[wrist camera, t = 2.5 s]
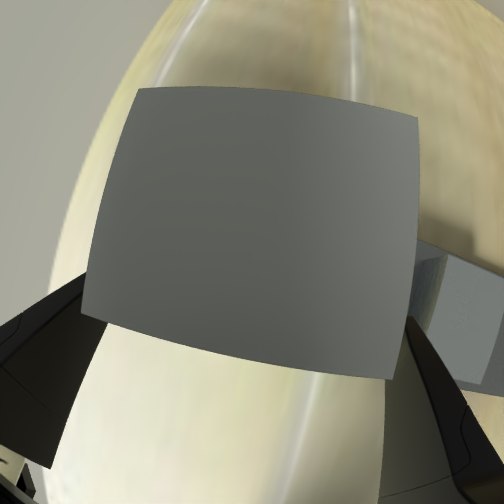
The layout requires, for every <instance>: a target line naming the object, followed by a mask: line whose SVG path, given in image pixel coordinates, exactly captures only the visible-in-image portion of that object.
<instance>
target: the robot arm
mask: <svg viewBox="0 0 504 504" xmlns="http://www.w3.org/2000/svg"><path fill="white" fill-rule="evenodd" d="M85 278H86V272H85V273H83V274H82V275H80V276H78V277H77V278H75V279H74V280H72V281H70V282H69V283H67V284H65V285H64V286H62V287H61V288H59V289H57V290H56V291H54V292H53V293H51V294H49V295H48V296H46V297H45V298H43V299H42V300H40V301H39V302H37V303H35V304H34V305H32V306H31V307H29V308H28V309H26V310H25V311H24V312H23V313H20V314H19V315H17V316H16V317H14V318H13V319H11V320H10V321H8V322H6V323H5V324H3V325H2V326H0V504H38V503H37V502H35V501H34V500H33V497H34V495H35V492H36V490H35V487H34V484H33V481H32V478H31V475H30V472H29V468H28V465H27V463H25V461H26V459H29V460H31V461H33V462H35V463H37V464H39V465H41V466H43V467H46V468H48V469H51V467H52V464H53V461H54V458H55V455H56V452H57V448H58V445H59V442H60V440H61V437H62V434H63V431H64V428H65V425H66V422H67V419H68V417H69V414H70V411H71V409H72V406H73V403H74V401H75V398H76V396H77V393H78V391H79V388H80V386H81V383H82V381H83V379H84V376H85V374H86V371H87V369H88V367H89V364H90V362H91V360H92V358H93V355H94V353H95V351H96V349H97V346H98V344H99V342H100V340H101V338H102V336H103V333H104V331H105V329H106V327H107V324H108V322H105V321H102V320H99V319H96V318H93V317H91V316H88V315H85V314H82V313H81V307H82V299H83V291H84V284H85ZM378 504H504V464H503V462H502V460H501V459H500V457H499V455H498V454H497V452H496V451H495V449H494V447H493V446H492V444H491V443H490V441H489V439H488V438H487V436H486V435H485V433H484V431H483V430H482V428H481V426H480V425H479V423H478V421H477V419H476V417H475V416H474V414H473V412H472V410H471V408H470V407H469V405H467V401H466V400H465V398H464V396H463V394H462V393H461V391H460V389H459V387H458V386H457V384H456V382H455V381H454V379H453V377H452V376H451V374H450V372H449V371H448V369H447V367H446V366H445V364H444V362H443V361H442V359H441V358H440V356H439V354H438V353H437V351H436V350H435V348H434V347H433V345H432V343H431V342H430V340H429V339H428V337H427V336H426V334H425V333H424V331H423V330H422V328H421V327H420V325H419V324H418V322H417V321H416V319H415V318H414V317H413V316H412V315H407V317H406V322H405V327H404V332H403V337H402V342H401V347H400V351H399V355H398V359H397V364H396V368H395V371H394V375H393V379H392V380H389V379H385V422H384V444H383V459H382V470H381V481H380V489H379V499H378Z"/></svg>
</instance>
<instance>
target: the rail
mask: <svg viewBox="0 0 504 504" xmlns="http://www.w3.org/2000/svg"><path fill="white" fill-rule="evenodd" d="M407 315H412V316H413V317H414V318H415V319H416V321H417V322H418V324H419V325H420V327H421V328H422V330H423V331H424V333H425V334H426V336H427V337H428V339H429V340H430V342H431V343H432V345H433V347H434V348H435V350H436V351H437V353H438V354H439V356H440V358H441V359H442V361H443V362H444V364H445V366H446V367H447V369H448V371H449V372H450V374H451V376H452V377H453V379H454V381H455V382H456V384H457V386H458V387H459V389H462V390H467V391H472V392H477V393H483V394H489V395H494V396H500V397H504V277H503V276H501V275H499V274H497V273H494V272H492V271H490V270H488V269H486V268H484V267H481V266H479V265H477V264H475V263H472V262H470V261H468V260H466V259H463V258H461V257H459V256H456V255H454V254H452V253H449V252H447V251H445V250H442V249H440V248H437V247H435V246H432V245H430V244H428V243H425V242H423V241H420V240H418V239H417V243H416V254H415V263H414V271H413V279H412V286H411V293H410V300H409V306H408V311H407Z"/></svg>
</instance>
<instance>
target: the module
mask: <svg viewBox="0 0 504 504" xmlns="http://www.w3.org/2000/svg"><path fill="white" fill-rule="evenodd" d="M419 187H420V161H419V133H418V118H417V117H413V116H410V115H406V114H403V113H399V112H395V111H391V110H387V109H383V108H379V107H375V106H370V105H366V104H361V103H356V102H351V101H346V100H341V99H335V98H329V97H323V96H317V95H310V94H303V93H295V92H287V91H277V90H267V89H254V88H237V87H201V86H194V87H158V88H142V89H138V92H137V94H136V97H135V99H134V102H133V104H132V107H131V109H130V112H129V114H128V117H127V120H126V122H125V125H124V128H123V131H122V134H121V137H120V139H119V142H118V145H117V148H116V151H115V155H114V158H113V161H112V164H111V168H110V171H109V174H108V178H107V181H106V185H105V188H104V192H103V196H102V200H101V204H100V208H99V212H98V216H97V220H96V225H95V229H94V234H93V239H92V244H91V249H90V254H89V260H88V265H87V271H86V278H85V284H84V291H83V299H82V307H81V313H82V314H85V315H88V316H91V317H93V318H96V319H99V320H102V321H105V322H108V323H111V324H114V325H117V326H120V327H123V328H126V329H130V330H133V331H136V332H139V333H143V334H146V335H149V336H153V337H156V338H160V339H163V340H167V341H171V342H174V343H178V344H182V345H186V346H189V347H193V348H197V349H201V350H206V351H210V352H214V353H218V354H223V355H227V356H232V357H236V358H241V359H246V360H251V361H256V362H261V363H267V364H272V365H278V366H283V367H289V368H295V369H302V370H308V371H315V372H322V373H330V374H338V375H346V376H356V377H365V378H376V379H389V380H392V379H393V375H394V371H395V368H396V364H397V359H398V355H399V351H400V347H401V342H402V337H403V332H404V327H405V322H406V317H407V311H408V306H409V300H410V293H411V286H412V279H413V271H414V263H415V254H416V243H417V231H418V215H419Z"/></svg>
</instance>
